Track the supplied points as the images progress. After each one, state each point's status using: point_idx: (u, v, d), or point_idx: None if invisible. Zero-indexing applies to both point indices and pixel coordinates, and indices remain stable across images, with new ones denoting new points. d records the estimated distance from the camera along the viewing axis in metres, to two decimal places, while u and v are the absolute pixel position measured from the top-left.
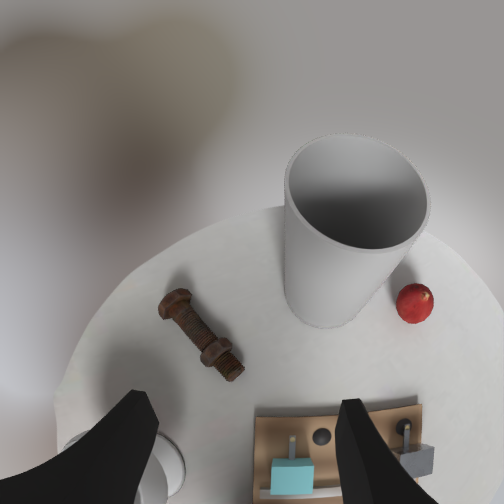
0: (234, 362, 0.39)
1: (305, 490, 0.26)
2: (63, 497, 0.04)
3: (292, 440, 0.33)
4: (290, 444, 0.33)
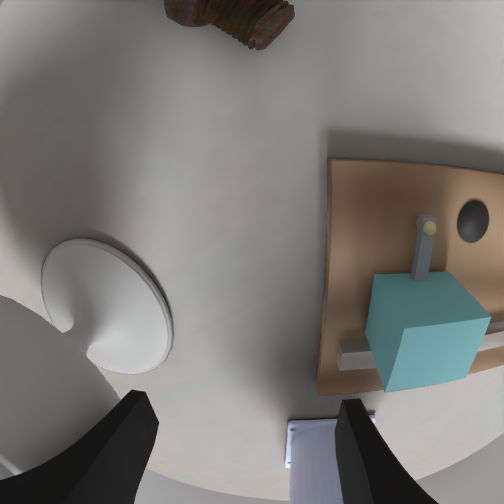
0: None
1: (457, 372, 0.12)
2: (63, 497, 0.04)
3: (430, 230, 0.13)
4: (423, 241, 0.13)
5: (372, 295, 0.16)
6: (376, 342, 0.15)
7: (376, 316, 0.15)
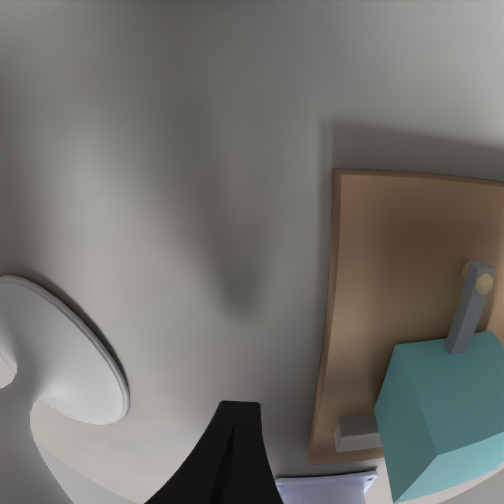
0: None
1: (487, 468, 0.06)
2: None
3: (484, 288, 0.07)
4: (472, 302, 0.08)
5: (389, 371, 0.10)
6: (389, 435, 0.09)
7: (393, 403, 0.09)
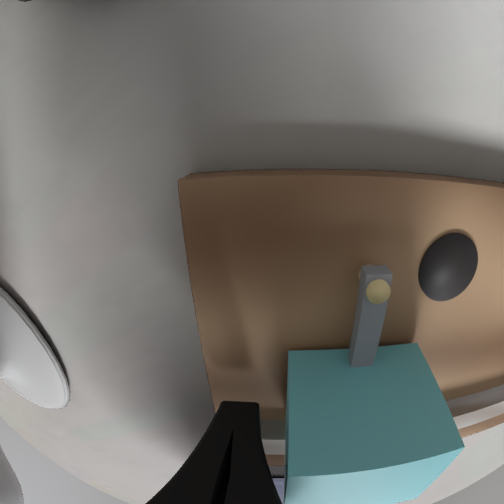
0: None
1: (400, 498, 0.07)
2: None
3: (378, 297, 0.08)
4: (365, 311, 0.08)
5: (287, 377, 0.11)
6: None
7: None
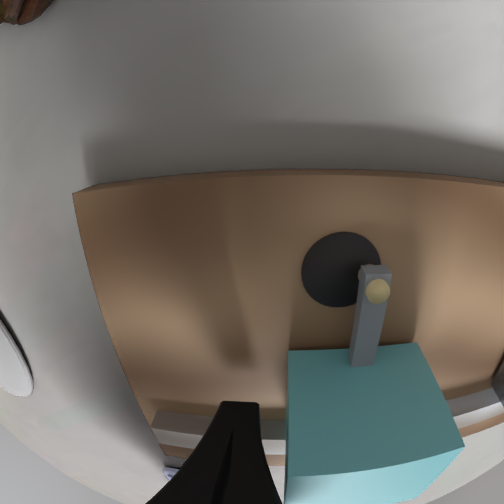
0: None
1: (401, 497, 0.07)
2: None
3: (377, 296, 0.08)
4: (365, 311, 0.08)
5: None
6: None
7: None
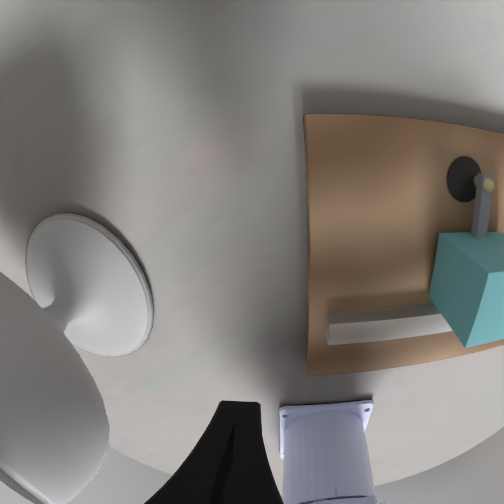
0: None
1: None
2: None
3: (489, 187, 0.12)
4: (483, 197, 0.12)
5: (438, 254, 0.14)
6: (447, 300, 0.13)
7: (445, 274, 0.13)
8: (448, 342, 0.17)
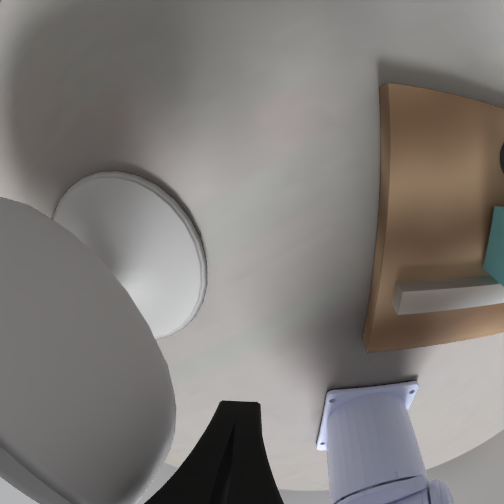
0: None
1: None
2: None
3: None
4: None
5: (493, 226, 0.13)
6: None
7: (502, 243, 0.12)
8: (493, 317, 0.16)
